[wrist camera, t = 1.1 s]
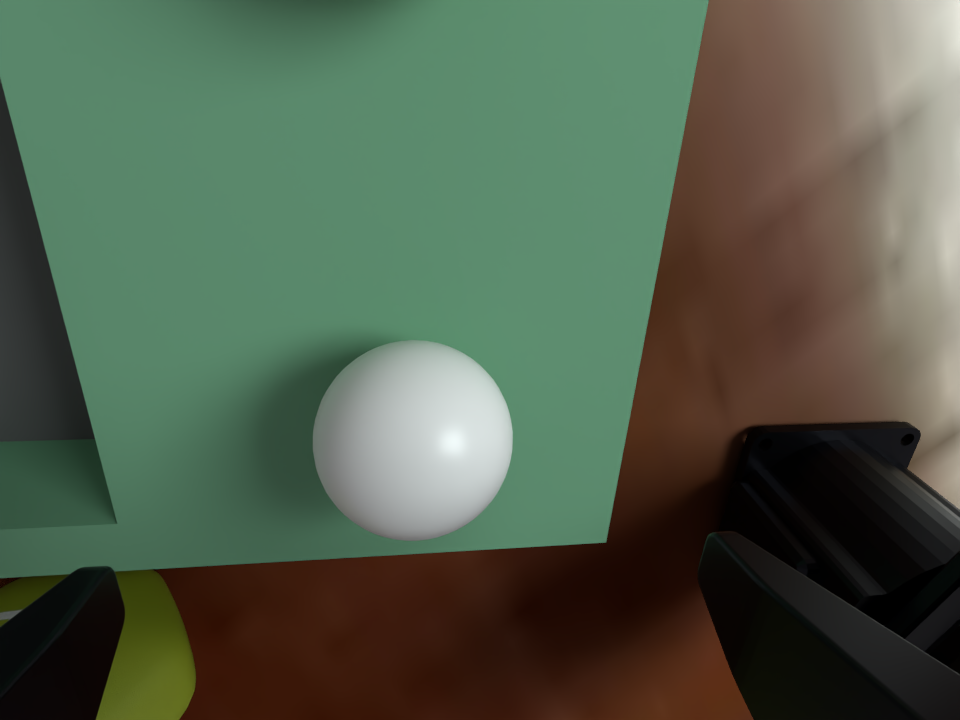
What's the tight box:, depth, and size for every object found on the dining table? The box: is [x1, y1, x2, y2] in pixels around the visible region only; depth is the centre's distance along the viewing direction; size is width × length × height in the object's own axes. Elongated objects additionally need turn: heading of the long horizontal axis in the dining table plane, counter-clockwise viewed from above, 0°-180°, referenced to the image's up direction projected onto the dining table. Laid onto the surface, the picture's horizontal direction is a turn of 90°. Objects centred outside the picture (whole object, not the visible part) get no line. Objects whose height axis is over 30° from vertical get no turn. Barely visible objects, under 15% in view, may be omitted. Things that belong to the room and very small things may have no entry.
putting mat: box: [0, 0, 709, 578], centre depth 13 cm, size 21×22×4 cm
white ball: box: [313, 340, 513, 541], centre depth 12 cm, size 4×4×4 cm
